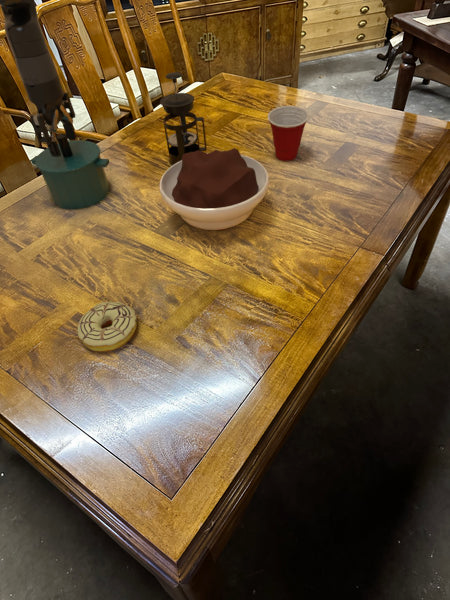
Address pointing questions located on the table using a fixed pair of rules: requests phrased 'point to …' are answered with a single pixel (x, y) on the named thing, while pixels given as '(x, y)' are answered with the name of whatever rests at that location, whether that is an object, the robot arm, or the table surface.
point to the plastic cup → (287, 130)
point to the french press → (180, 108)
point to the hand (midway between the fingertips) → (64, 147)
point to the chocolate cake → (214, 188)
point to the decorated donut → (109, 337)
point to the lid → (68, 156)
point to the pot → (78, 185)
